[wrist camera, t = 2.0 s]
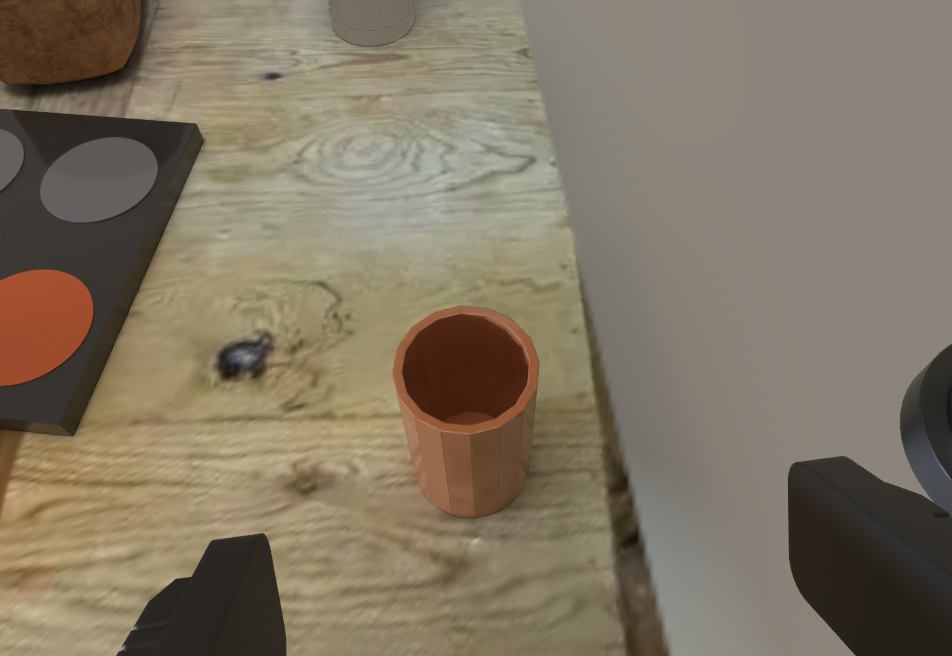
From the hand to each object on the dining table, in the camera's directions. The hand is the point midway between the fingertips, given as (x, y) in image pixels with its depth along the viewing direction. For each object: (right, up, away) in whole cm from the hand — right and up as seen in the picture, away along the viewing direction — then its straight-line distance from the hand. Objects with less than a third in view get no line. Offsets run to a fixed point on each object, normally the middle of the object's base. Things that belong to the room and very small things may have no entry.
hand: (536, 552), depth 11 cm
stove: (-30, +8, +35) cm, 46 cm away
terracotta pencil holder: (-1, -3, +27) cm, 27 cm away
